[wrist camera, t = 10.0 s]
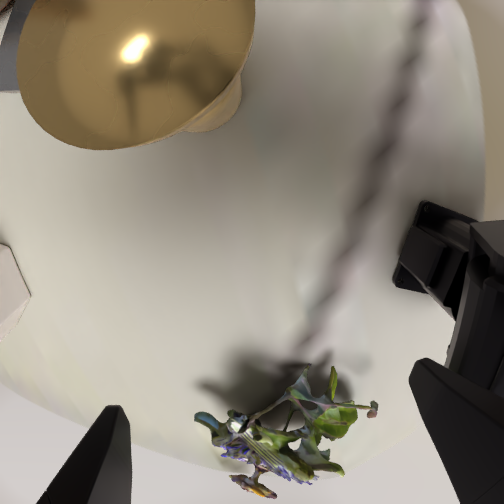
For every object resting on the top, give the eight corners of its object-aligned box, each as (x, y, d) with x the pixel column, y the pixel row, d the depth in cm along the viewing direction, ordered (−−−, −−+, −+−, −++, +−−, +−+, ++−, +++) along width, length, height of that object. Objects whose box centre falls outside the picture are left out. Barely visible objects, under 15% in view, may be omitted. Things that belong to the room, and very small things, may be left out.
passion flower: (252, 377, 31) (166, 438, 22) (311, 307, 26) (218, 372, 17) (328, 449, 27) (264, 531, 18) (406, 394, 22) (360, 503, 13)
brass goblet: (257, 53, 17) (275, -69, 4) (241, 146, 19) (229, 164, 6) (161, 44, 16) (52, -53, 4) (145, 135, 18) (2, 147, 6)
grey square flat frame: (198, -54, 13) (192, -72, 11) (148, 100, 17) (134, 95, 15) (55, -42, 12) (40, -53, 10) (9, 92, 16) (-11, 91, 14)
